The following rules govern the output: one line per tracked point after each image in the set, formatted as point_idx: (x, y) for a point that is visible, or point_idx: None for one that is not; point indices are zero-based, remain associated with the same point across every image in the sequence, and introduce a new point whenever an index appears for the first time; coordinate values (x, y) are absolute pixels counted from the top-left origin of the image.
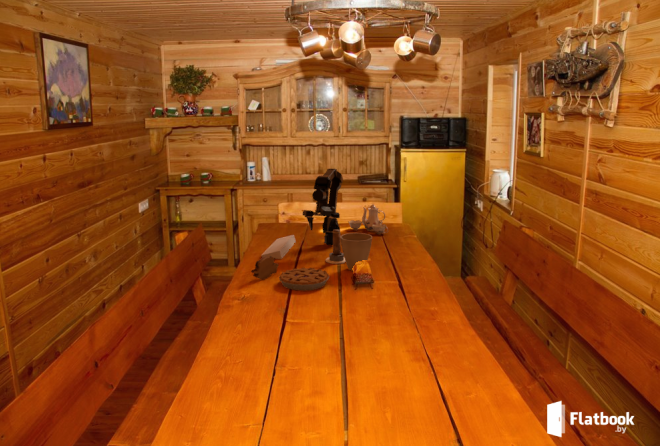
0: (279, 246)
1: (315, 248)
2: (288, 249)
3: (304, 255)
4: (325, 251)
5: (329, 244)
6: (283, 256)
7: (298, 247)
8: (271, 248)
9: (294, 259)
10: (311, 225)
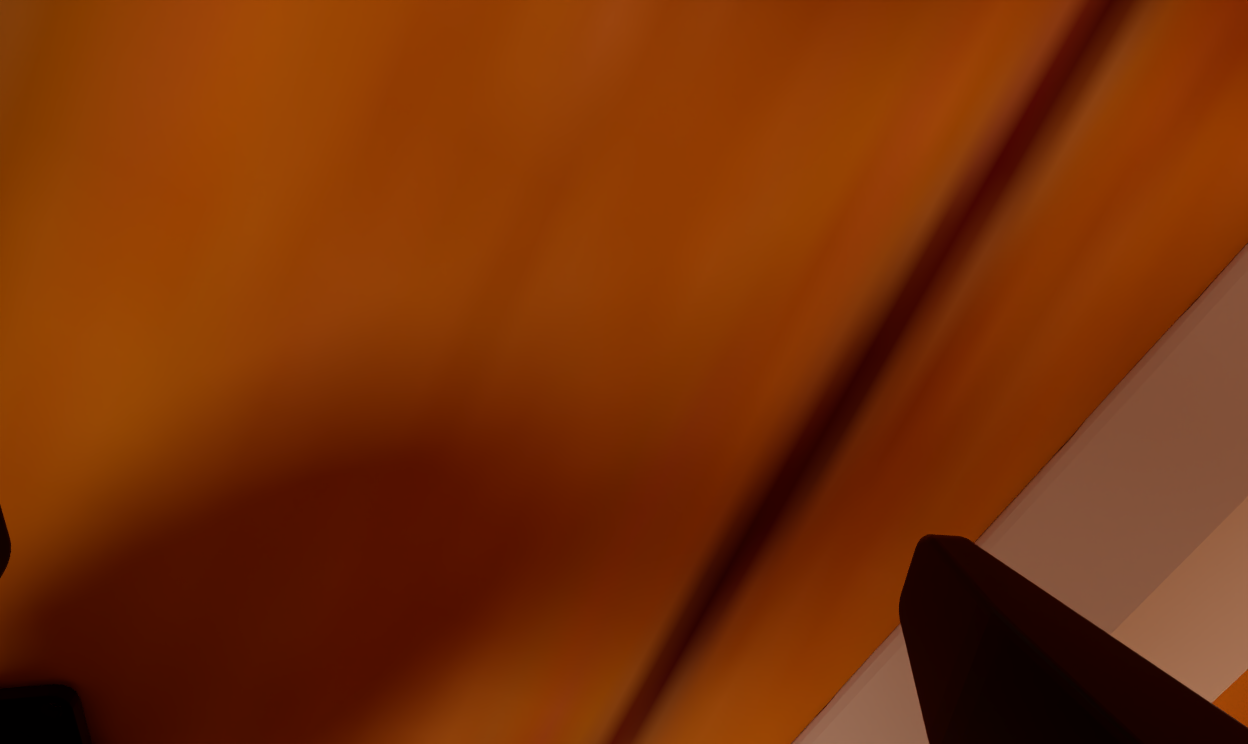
0: (1174, 625)
1: (414, 601)
2: None
3: (831, 239)
4: (295, 329)
5: (41, 712)
6: (1188, 317)
7: (666, 741)
8: (1221, 653)
9: (1139, 58)
10: (1191, 708)
